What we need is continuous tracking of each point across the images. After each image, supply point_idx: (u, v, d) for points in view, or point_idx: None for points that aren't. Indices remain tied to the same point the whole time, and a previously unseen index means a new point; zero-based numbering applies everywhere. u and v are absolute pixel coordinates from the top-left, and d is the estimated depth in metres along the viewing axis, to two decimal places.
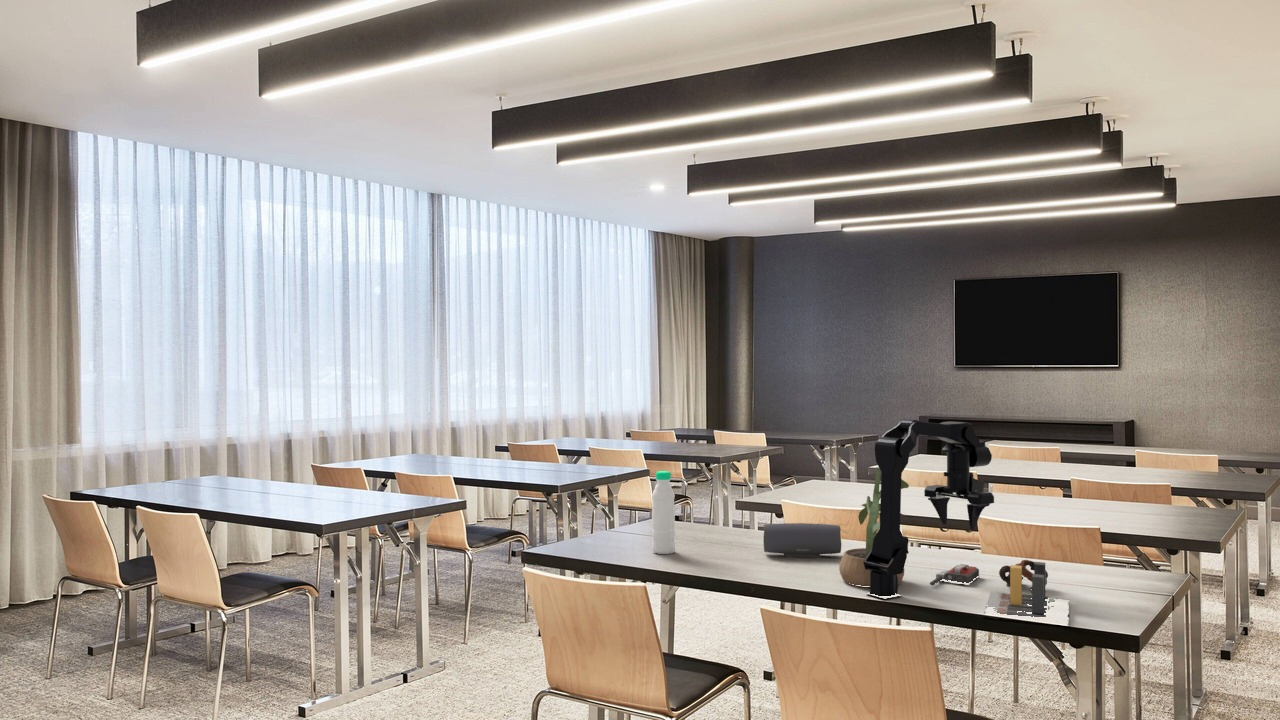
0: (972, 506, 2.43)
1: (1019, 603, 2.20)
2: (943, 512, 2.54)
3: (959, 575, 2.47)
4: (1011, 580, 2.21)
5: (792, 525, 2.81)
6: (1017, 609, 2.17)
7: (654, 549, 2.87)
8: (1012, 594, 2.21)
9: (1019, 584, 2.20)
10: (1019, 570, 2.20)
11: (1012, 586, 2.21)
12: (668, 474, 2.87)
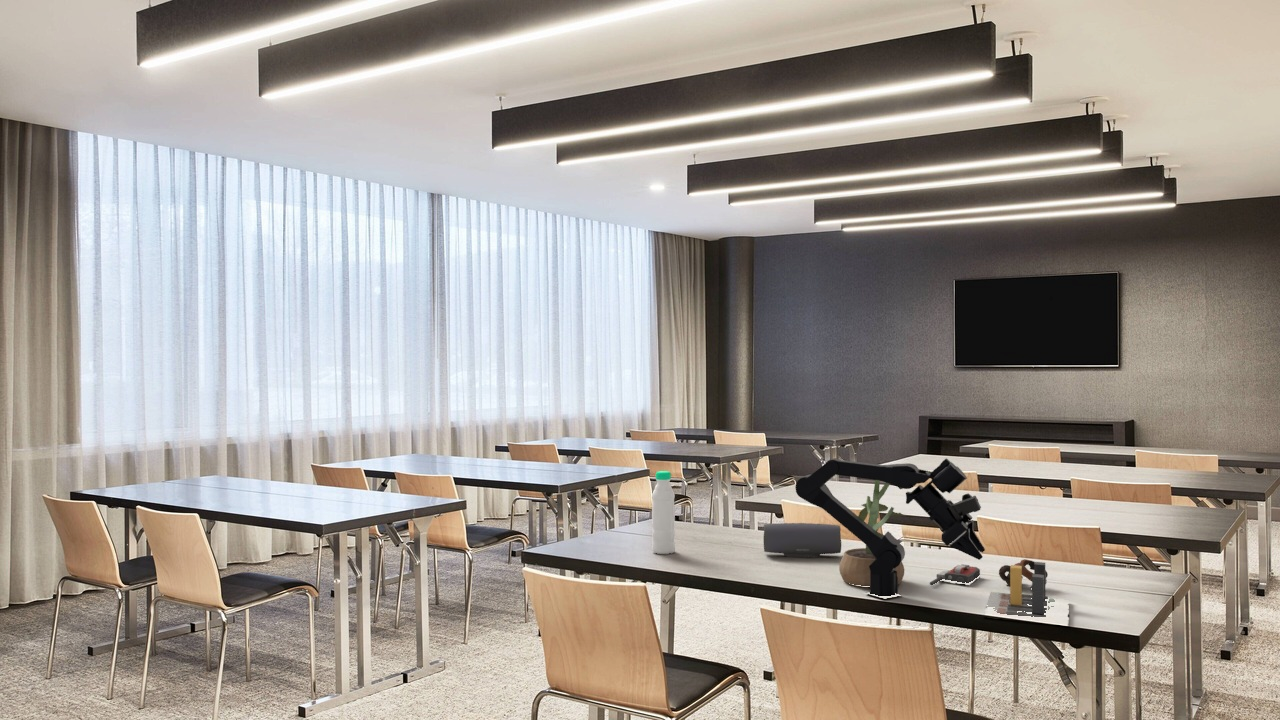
0: None
1: (1019, 603, 2.20)
2: (972, 541, 2.31)
3: (959, 575, 2.47)
4: (1011, 580, 2.21)
5: (792, 525, 2.81)
6: (1017, 609, 2.17)
7: (654, 549, 2.87)
8: (1012, 594, 2.21)
9: (1019, 584, 2.20)
10: (1019, 570, 2.20)
11: (1012, 586, 2.21)
12: (668, 474, 2.87)
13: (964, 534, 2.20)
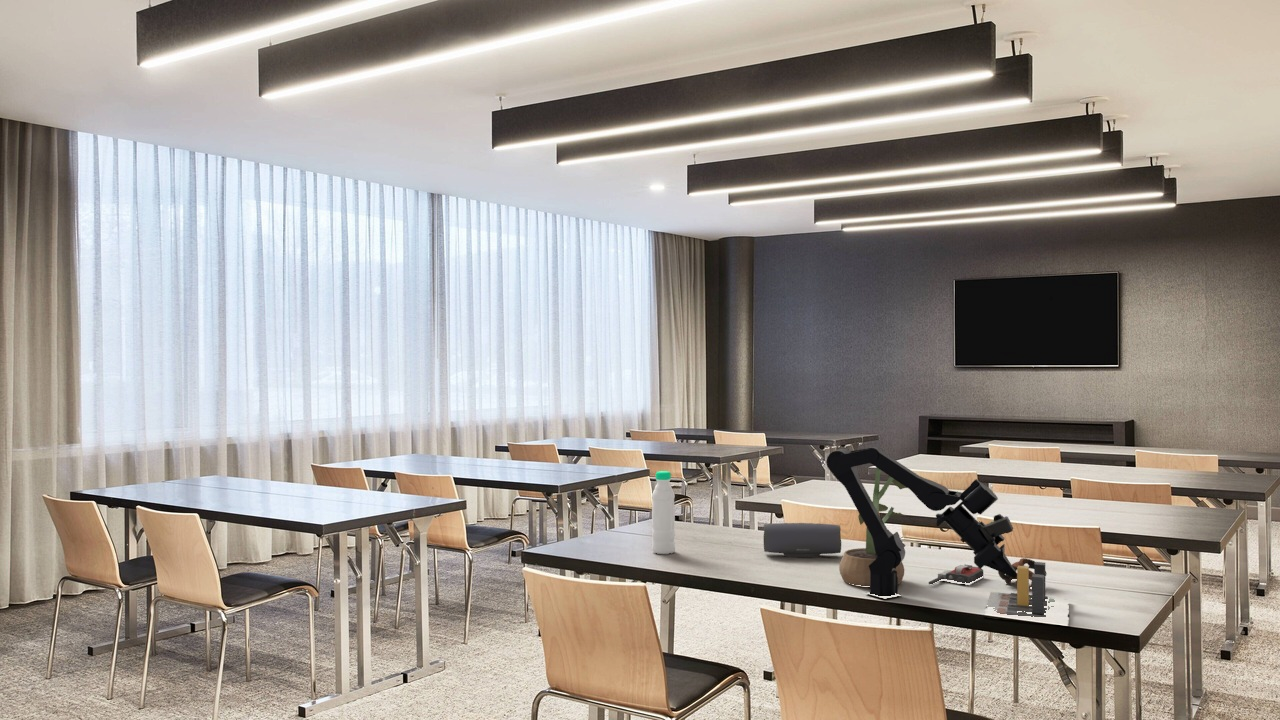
0: None
1: (1026, 604, 2.20)
2: None
3: (960, 575, 2.47)
4: (1018, 581, 2.20)
5: (792, 525, 2.81)
6: (1017, 609, 2.17)
7: (654, 549, 2.87)
8: (1019, 594, 2.20)
9: (1026, 585, 2.20)
10: (1026, 571, 2.20)
11: (1019, 587, 2.20)
12: (668, 474, 2.87)
13: (998, 553, 2.20)
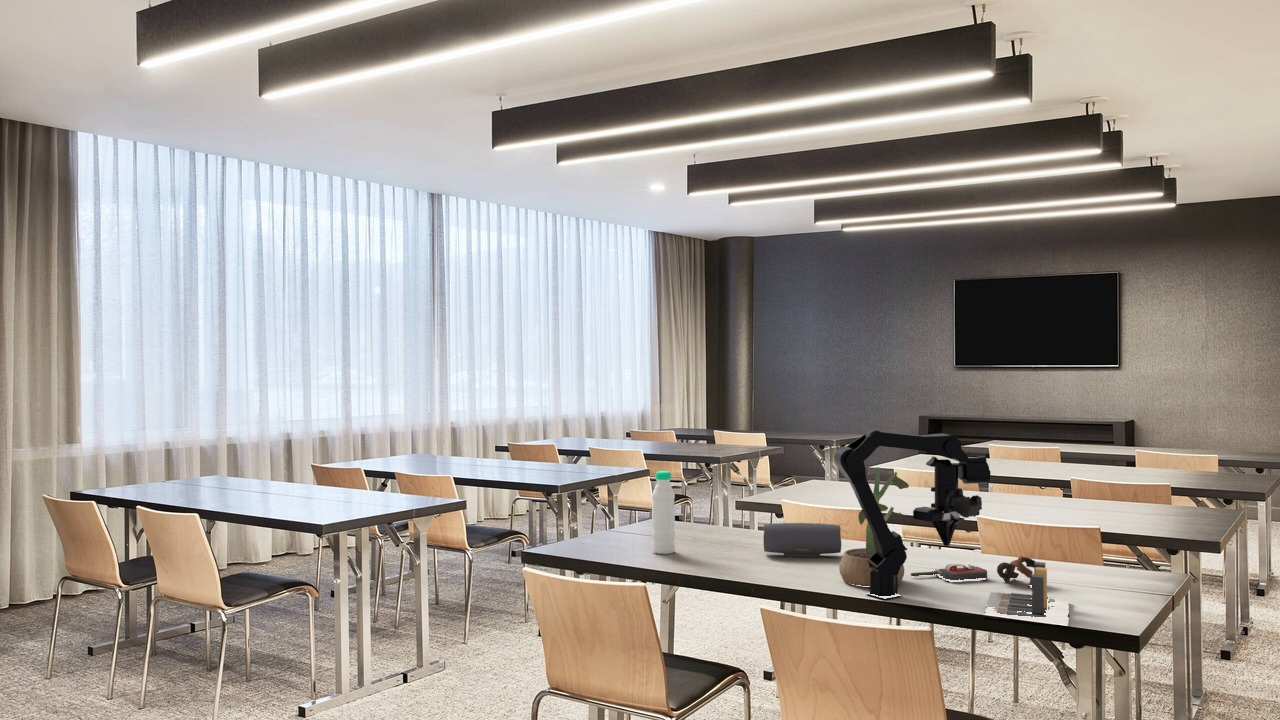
0: None
1: (1044, 606, 2.18)
2: None
3: (946, 572, 2.51)
4: None
5: (792, 525, 2.81)
6: (1017, 609, 2.17)
7: (654, 549, 2.87)
8: None
9: (1044, 586, 2.18)
10: (1044, 572, 2.18)
11: None
12: (668, 474, 2.87)
13: (942, 521, 2.32)
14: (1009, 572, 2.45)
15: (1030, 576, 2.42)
